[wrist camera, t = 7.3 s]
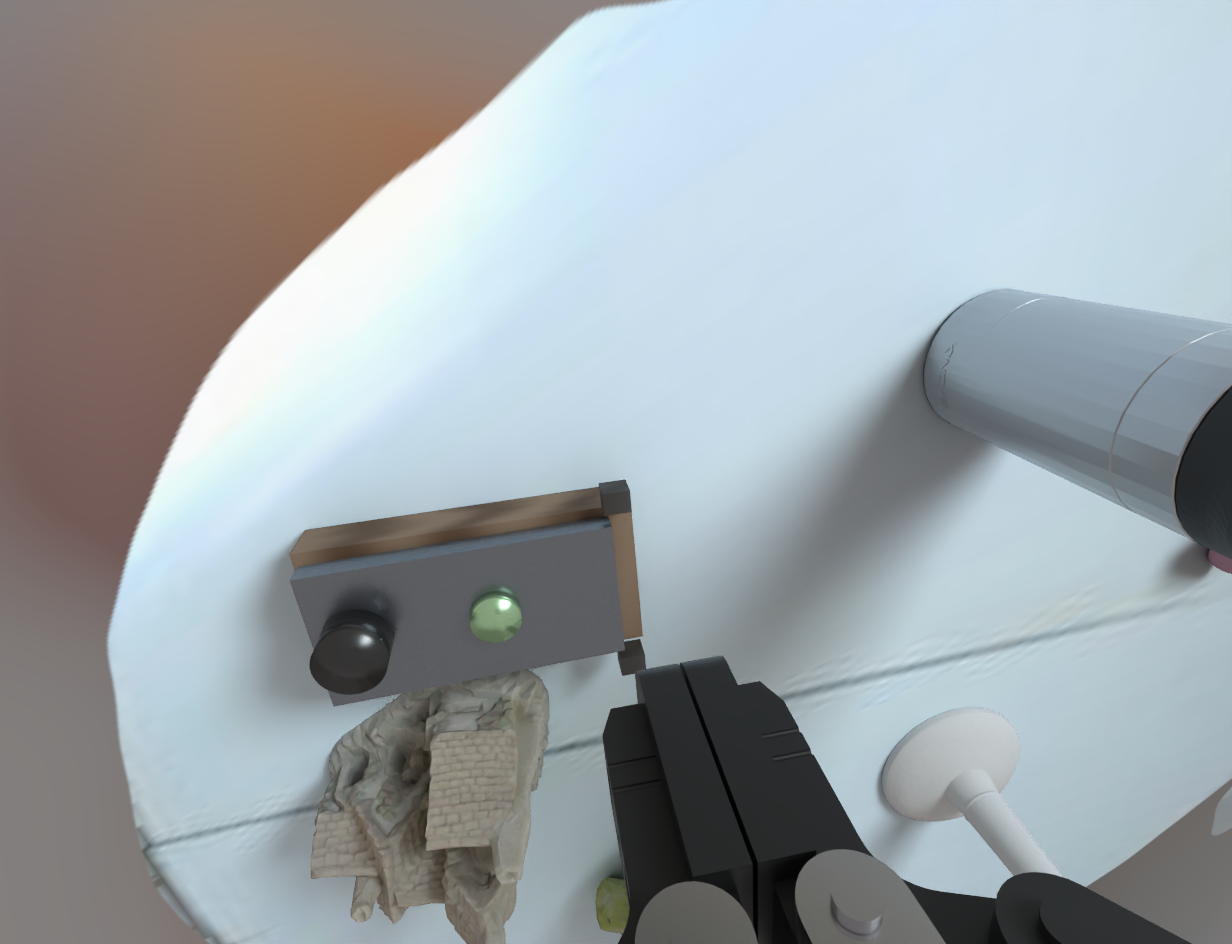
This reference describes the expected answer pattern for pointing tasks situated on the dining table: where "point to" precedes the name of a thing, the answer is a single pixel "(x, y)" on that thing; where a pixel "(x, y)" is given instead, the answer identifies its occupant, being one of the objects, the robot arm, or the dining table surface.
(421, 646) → the plate
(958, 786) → the candlestick
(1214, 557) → the pink shoe
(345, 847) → the miniature castle
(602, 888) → the vegetable
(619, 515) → the brown boxy piece
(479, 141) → the dining table surface
